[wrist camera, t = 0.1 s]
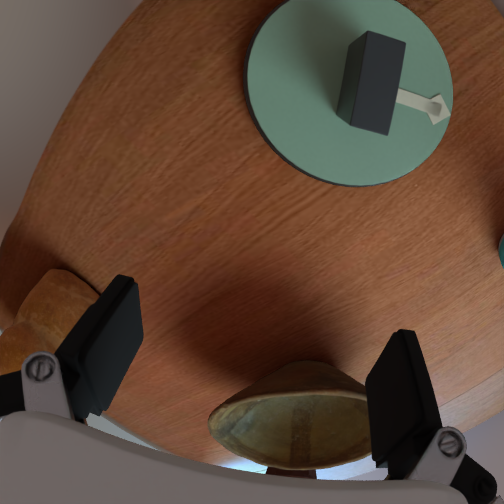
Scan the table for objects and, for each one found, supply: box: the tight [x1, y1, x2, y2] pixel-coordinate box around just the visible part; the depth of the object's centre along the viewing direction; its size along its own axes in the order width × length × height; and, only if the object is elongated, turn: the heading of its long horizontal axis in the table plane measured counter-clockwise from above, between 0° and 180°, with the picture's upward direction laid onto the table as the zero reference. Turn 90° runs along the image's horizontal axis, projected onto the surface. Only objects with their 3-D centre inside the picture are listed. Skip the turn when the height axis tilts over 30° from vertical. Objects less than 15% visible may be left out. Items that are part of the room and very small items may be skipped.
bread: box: [0, 269, 100, 375], centre depth 36 cm, size 16×26×17 cm, turn 133°
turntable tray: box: [247, 0, 453, 185], centre depth 18 cm, size 17×17×8 cm
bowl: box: [208, 360, 372, 470], centre depth 36 cm, size 22×23×10 cm
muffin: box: [266, 466, 317, 479], centre depth 50 cm, size 12×11×10 cm
